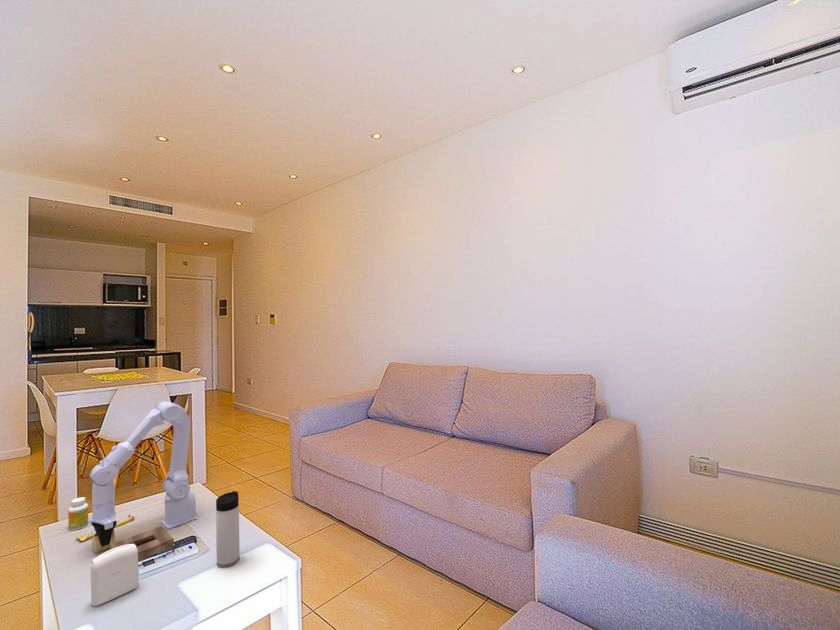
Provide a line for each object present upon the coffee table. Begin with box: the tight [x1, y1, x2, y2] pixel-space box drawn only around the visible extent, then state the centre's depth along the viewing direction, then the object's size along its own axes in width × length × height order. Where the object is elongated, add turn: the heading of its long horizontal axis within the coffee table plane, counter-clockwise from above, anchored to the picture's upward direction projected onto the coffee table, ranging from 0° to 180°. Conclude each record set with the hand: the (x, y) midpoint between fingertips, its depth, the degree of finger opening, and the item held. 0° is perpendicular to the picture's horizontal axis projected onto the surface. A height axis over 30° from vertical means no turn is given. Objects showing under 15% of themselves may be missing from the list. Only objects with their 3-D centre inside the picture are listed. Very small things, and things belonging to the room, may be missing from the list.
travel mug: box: [215, 490, 241, 569], centre depth 119 cm, size 6×7×20 cm
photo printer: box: [90, 544, 140, 607], centre depth 105 cm, size 10×4×12 cm, turn 140°
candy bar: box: [75, 514, 136, 542], centre depth 139 cm, size 17×4×2 cm, turn 152°
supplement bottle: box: [68, 496, 89, 531], centre depth 141 cm, size 5×5×10 cm
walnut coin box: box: [109, 525, 175, 562], centre depth 124 cm, size 14×12×4 cm
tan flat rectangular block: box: [92, 529, 116, 553], centre depth 127 cm, size 5×2×5 cm, turn 139°
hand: (104, 543), depth 127 cm, fingers closed on tan flat rectangular block, 2 cm apart
